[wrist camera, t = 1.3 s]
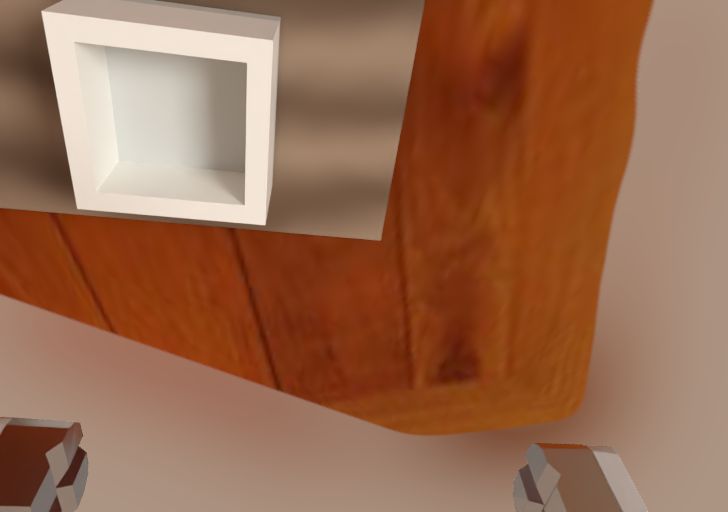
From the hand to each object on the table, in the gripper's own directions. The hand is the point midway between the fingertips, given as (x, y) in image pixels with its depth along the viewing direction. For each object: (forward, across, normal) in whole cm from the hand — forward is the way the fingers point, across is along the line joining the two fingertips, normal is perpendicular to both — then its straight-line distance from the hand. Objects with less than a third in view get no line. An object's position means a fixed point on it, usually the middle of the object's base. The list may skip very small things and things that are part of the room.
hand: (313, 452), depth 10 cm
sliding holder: (+26, +8, +3) cm, 28 cm away
